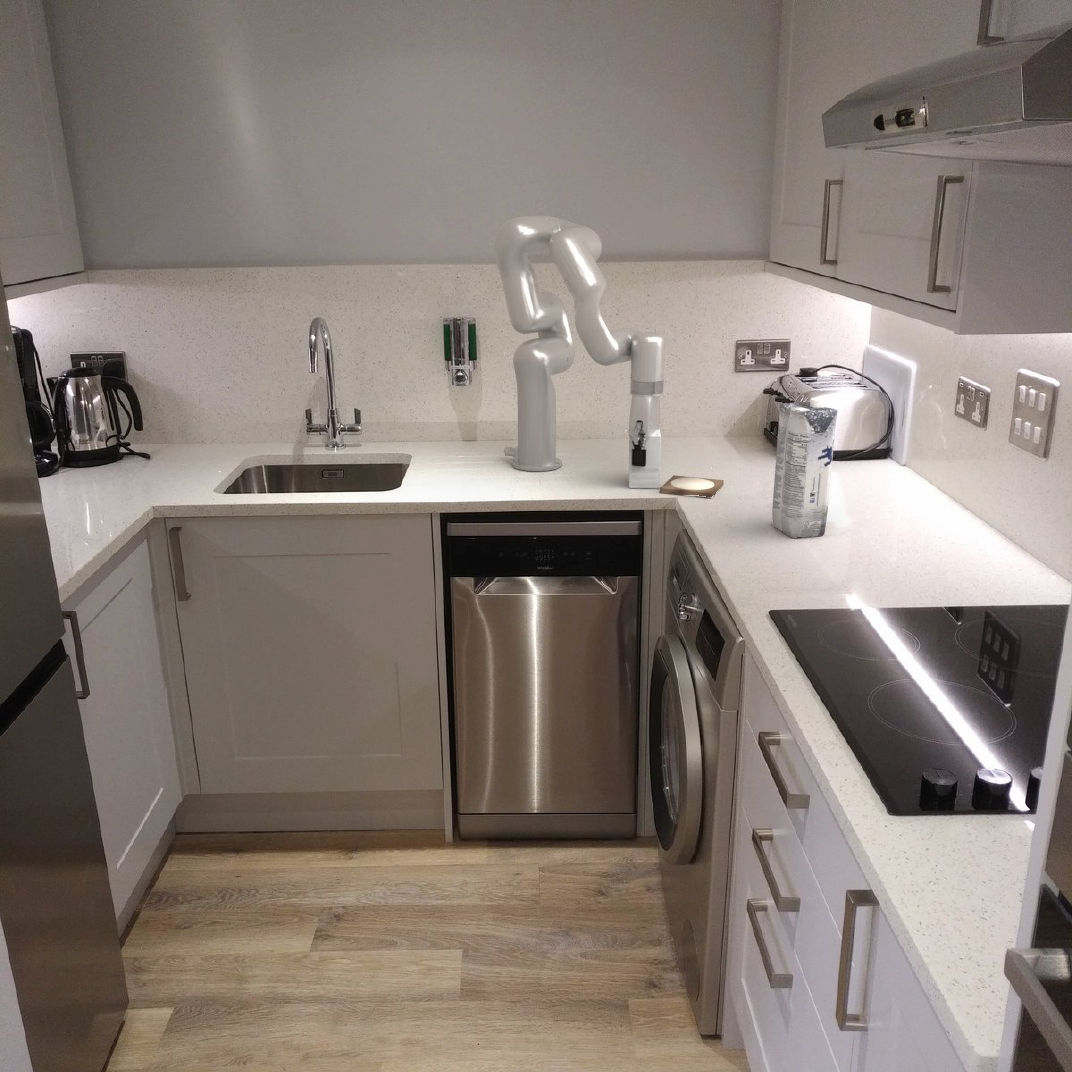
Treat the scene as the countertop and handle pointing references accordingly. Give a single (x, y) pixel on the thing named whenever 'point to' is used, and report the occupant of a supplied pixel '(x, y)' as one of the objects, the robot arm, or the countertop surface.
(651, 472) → the supplement box
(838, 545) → the countertop surface
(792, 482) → the juice carton
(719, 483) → the board
